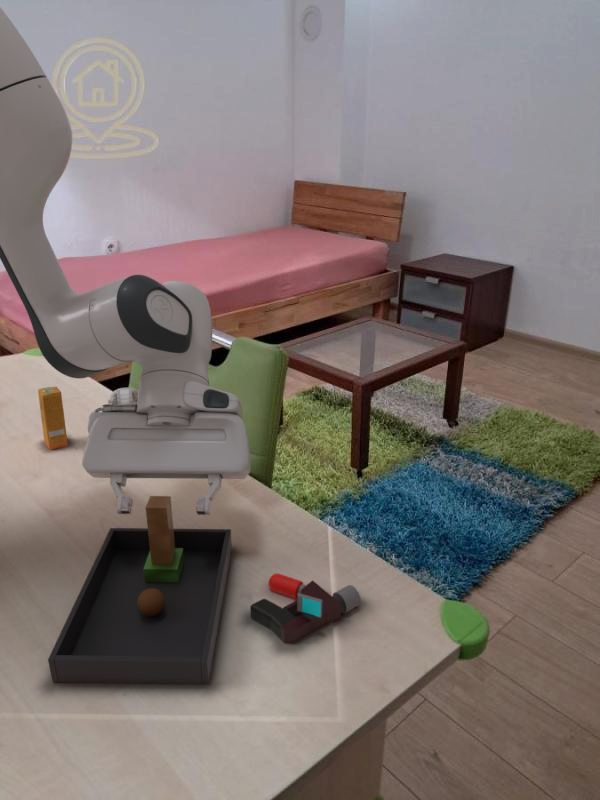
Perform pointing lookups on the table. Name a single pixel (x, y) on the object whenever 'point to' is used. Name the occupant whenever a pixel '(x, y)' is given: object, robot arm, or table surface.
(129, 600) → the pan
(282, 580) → the toy gun
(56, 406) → the supplement box
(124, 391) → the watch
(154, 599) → the brown wooden ball
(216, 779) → the table surface
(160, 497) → the wooden post on base
